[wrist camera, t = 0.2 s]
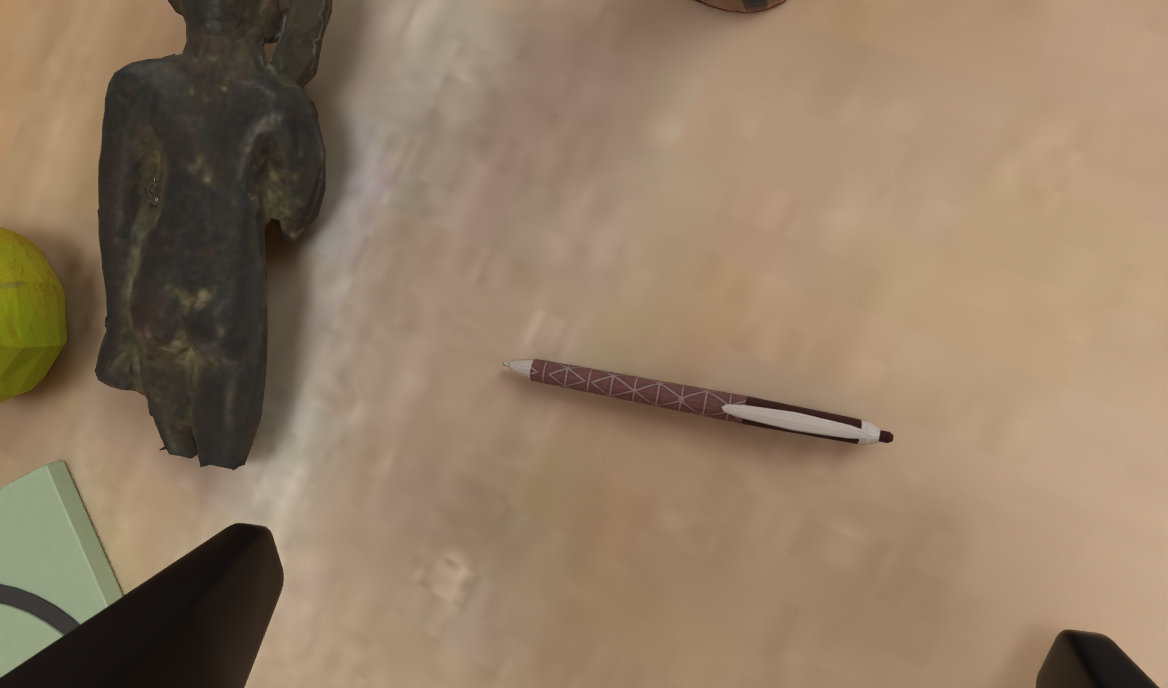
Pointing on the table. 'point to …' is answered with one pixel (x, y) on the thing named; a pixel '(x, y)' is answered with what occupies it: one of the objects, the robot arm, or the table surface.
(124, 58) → the table surface
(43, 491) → the board
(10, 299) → the fruit
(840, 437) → the pen
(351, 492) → the table surface
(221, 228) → the statue
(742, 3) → the figurine
